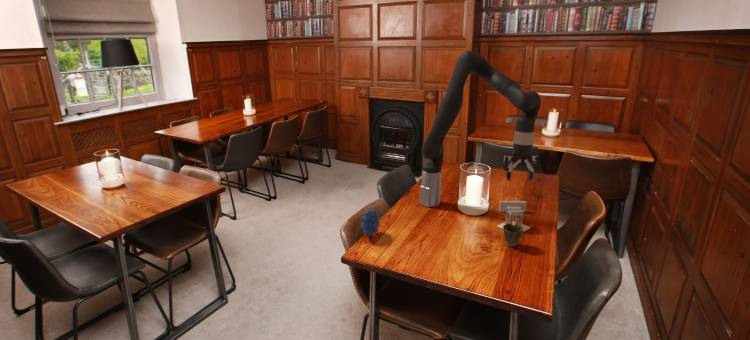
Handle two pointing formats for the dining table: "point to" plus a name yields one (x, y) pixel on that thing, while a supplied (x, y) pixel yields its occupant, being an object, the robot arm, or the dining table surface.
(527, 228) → the mat
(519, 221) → the stool
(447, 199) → the dining table surface
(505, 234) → the cup
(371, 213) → the grapes
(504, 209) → the block
